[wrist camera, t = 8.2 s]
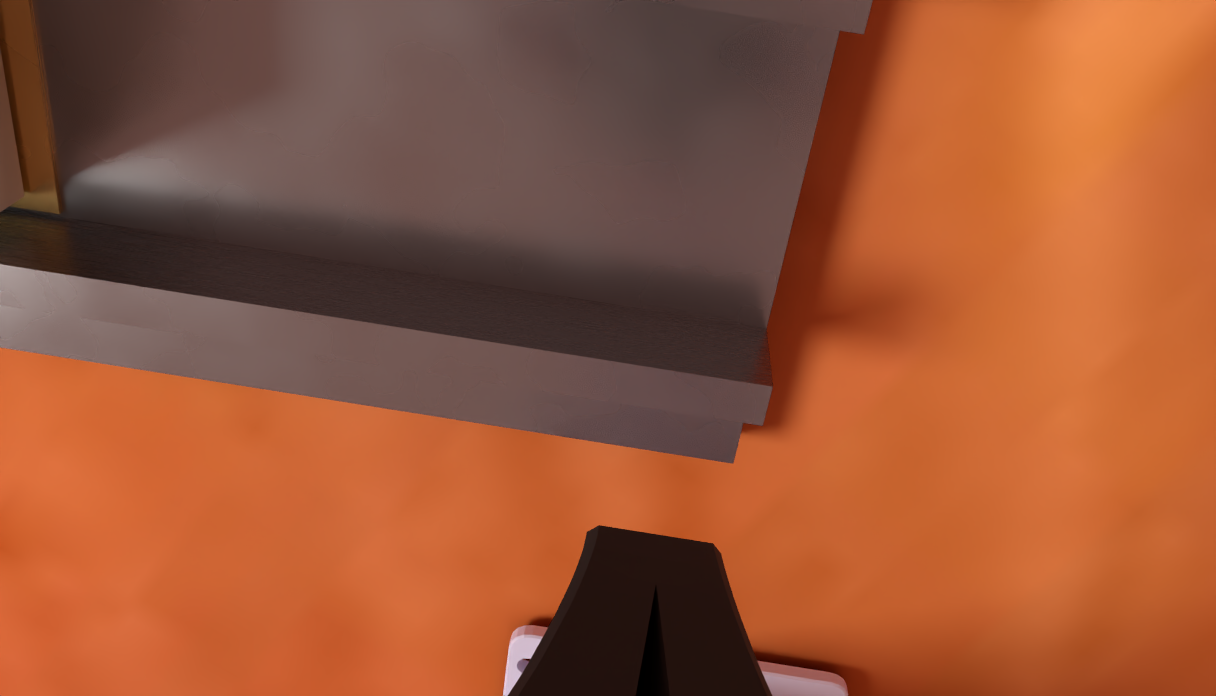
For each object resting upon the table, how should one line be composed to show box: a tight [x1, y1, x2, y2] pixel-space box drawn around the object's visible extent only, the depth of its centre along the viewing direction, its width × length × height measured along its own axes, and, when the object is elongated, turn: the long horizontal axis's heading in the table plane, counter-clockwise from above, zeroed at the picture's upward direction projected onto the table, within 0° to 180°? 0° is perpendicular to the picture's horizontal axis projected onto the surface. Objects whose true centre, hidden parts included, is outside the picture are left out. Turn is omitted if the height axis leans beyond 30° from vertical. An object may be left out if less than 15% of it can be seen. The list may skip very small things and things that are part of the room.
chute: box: [0, 0, 873, 463], centre depth 17 cm, size 12×20×3 cm, turn 82°
